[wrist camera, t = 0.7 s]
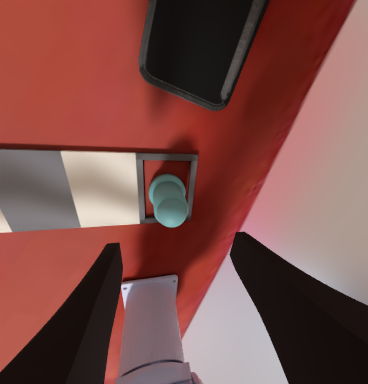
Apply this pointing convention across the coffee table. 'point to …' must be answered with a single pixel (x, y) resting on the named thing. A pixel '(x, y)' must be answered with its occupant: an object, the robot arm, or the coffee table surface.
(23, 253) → the coffee table surface
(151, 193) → the pawn
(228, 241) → the coffee table surface
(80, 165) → the board
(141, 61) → the phone
